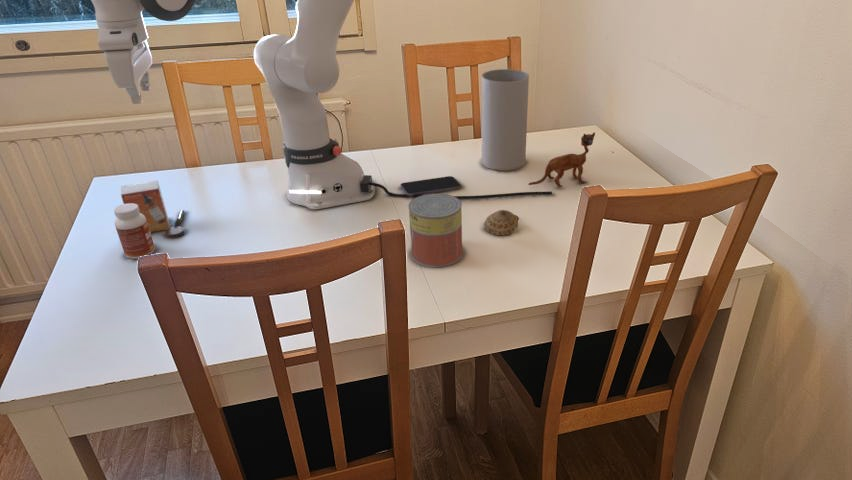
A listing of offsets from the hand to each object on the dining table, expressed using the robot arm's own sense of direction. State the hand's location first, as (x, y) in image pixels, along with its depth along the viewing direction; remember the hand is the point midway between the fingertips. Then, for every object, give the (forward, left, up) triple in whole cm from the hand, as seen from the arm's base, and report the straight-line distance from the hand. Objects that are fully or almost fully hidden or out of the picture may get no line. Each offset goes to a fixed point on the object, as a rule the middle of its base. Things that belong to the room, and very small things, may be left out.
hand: (142, 96), depth 144 cm
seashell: (-77, +26, -29) cm, 86 cm away
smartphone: (-64, +1, -29) cm, 70 cm away
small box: (+4, +8, -29) cm, 30 cm away
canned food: (-60, +35, -29) cm, 75 cm away
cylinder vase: (-87, -11, -29) cm, 92 cm away
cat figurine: (-98, +6, -29) cm, 102 cm away
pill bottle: (+4, +20, -29) cm, 35 cm away
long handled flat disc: (-2, +8, -29) cm, 30 cm away
